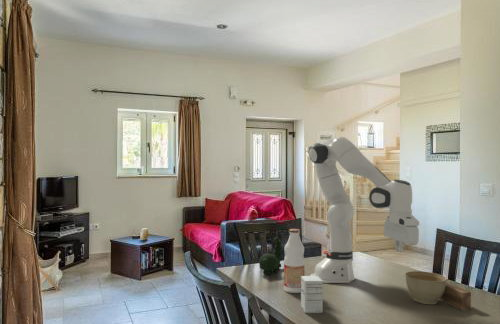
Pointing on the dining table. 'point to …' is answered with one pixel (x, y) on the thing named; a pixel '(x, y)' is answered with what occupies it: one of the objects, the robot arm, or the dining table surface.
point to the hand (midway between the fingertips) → (399, 251)
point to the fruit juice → (293, 262)
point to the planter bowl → (425, 286)
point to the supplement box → (311, 294)
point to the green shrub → (272, 259)
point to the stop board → (456, 297)
